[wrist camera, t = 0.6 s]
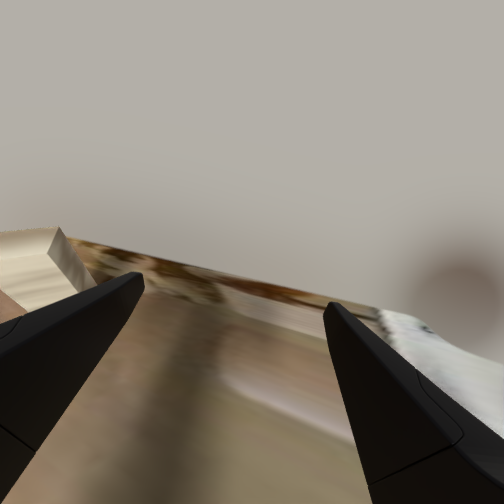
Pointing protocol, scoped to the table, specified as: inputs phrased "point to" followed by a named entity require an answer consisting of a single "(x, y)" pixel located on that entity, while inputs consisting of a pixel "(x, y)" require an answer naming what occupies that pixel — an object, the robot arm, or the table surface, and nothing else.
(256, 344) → the table surface
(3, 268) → the plug block
